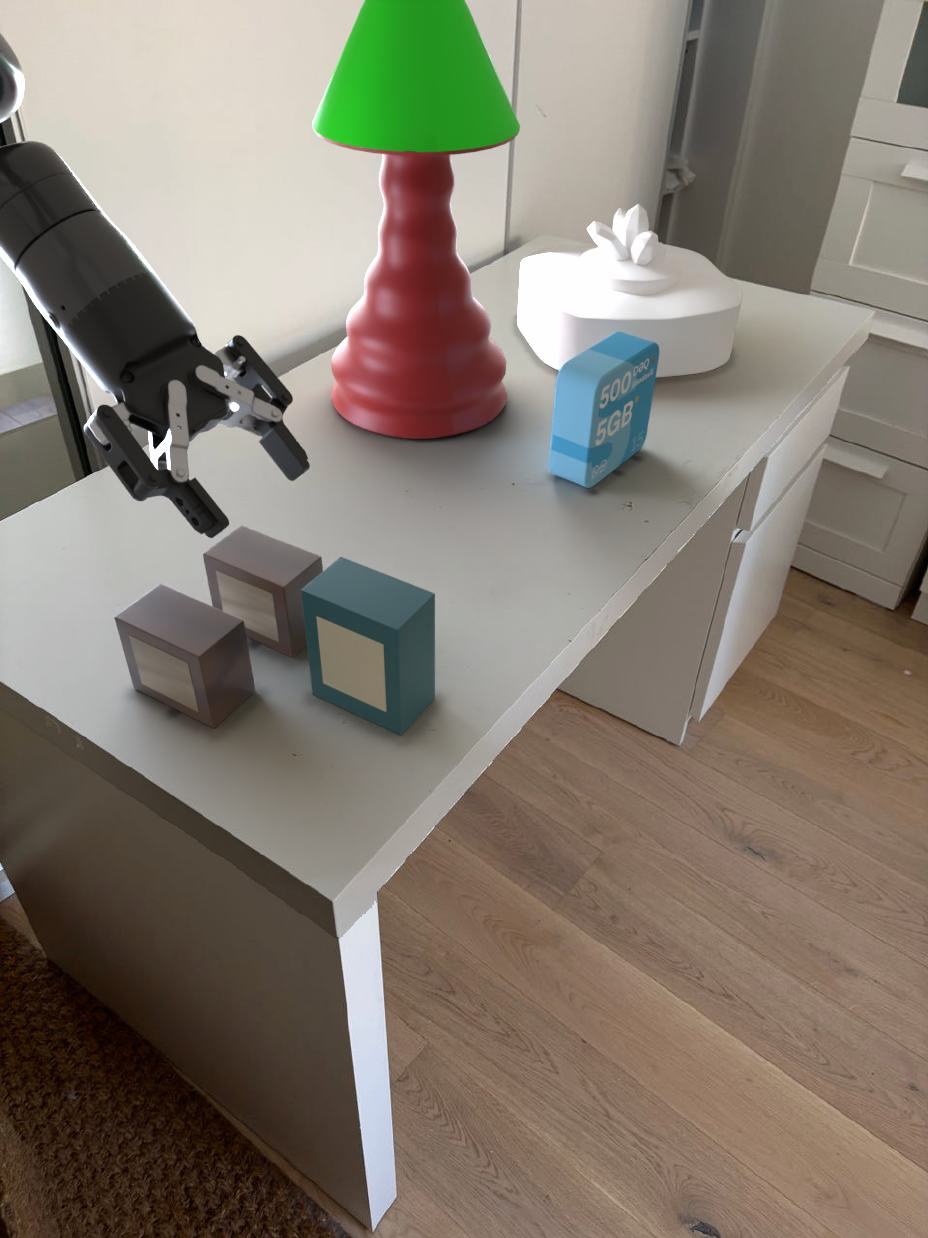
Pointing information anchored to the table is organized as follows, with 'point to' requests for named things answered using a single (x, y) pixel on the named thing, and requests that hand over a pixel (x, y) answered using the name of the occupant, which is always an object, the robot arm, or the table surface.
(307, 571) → the walnut block
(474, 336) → the table lamp
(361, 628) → the teal block
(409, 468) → the table surface
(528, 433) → the table surface
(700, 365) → the crystal-topped trinket box
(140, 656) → the walnut block
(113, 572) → the table surface
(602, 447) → the data package
